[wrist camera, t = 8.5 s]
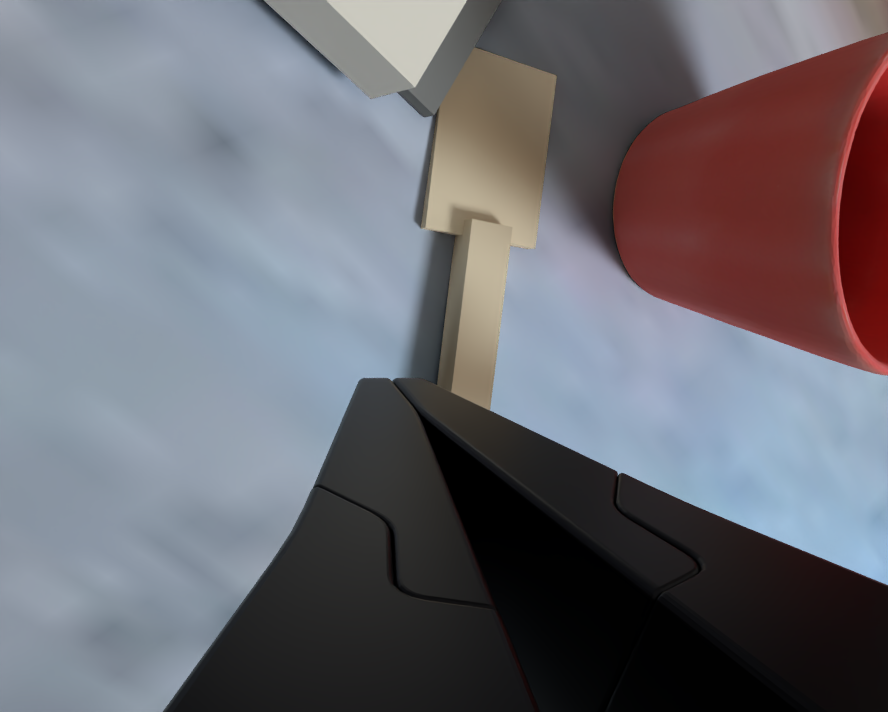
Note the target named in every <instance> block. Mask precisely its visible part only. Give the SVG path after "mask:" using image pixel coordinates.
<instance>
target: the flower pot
mask: <svg viewBox="0 0 888 712" xmlns="http://www.w3.org/2000/svg"><path fill="white" fill-rule="evenodd" d="M613 224H614V233H615V239H616V244H617V247H618V250H619V253H620V256H621V259H622V261H623V264H624V266H625V268H626V270H627V272H628V273H629V275H630V276H631V278H632V279H633V280H634V281H635V282H636V283H637V284H638V285H639V286H640V287H641V288H642V289H643V290H645V291H646V292H647V293H649V294H651V295H653V296H654V297H657V298H659V299H662V300H665V301H667V302H670V303H673V304H676V305H678V306H681V307H684V308H687V309H690V310H692V311H695V312H698V313H701V314H703V315H706V316H709V317H711V318H714V319H717V320H720V321H722V322H725V323H728V324H730V325H733V326H736V327H739V328H742V329H745V330H748V331H750V332H753V333H756V334H759V335H762V336H765V337H767V338H770V339H773V340H776V341H778V342H781V343H784V344H787V345H790V346H792V347H795V348H798V349H801V350H804V351H806V352H809V353H812V354H815V355H818V356H821V357H824V358H827V359H830V360H833V361H836V362H839V363H842V364H845V365H848V366H851V367H854V368H858V369H861V370H864V371H868V372H871V373H875V374H880V375H888V32H887V33H884V34H881V35H878V36H875V37H871V38H868V39H865V40H862V41H859V42H856V43H853V44H851V45H848V46H845V47H842V48H839V49H836V50H833V51H830V52H827V53H824V54H821V55H819V56H816V57H813V58H810V59H807V60H804V61H801V62H799V63H796V64H793V65H790V66H787V67H785V68H782V69H779V70H776V71H773V72H770V73H768V74H765V75H762V76H759V77H757V78H754V79H751V80H749V81H746V82H743V83H740V84H738V85H735V86H733V87H730V88H728V89H725V90H722V91H720V92H717V93H715V94H712V95H710V96H707V97H704V98H702V99H700V100H697V101H695V102H692V103H690V104H687V105H685V106H682V107H680V108H677V109H675V110H671V111H669V112H666V113H664V114H662V115H660V116H659V117H657V118H656V119H655V120H653V121H652V122H651V123H649V124H648V125H647V126H646V127H645V129H644V130H643V131H642V132H641V133H640V134H639V135H638V136H637V137H636V139H635V140H634V142H633V143H632V145H631V146H630V148H629V150H628V152H627V154H626V156H625V158H624V160H623V162H622V165H621V168H620V171H619V175H618V178H617V182H616V187H615V193H614V203H613Z"/></svg>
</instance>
